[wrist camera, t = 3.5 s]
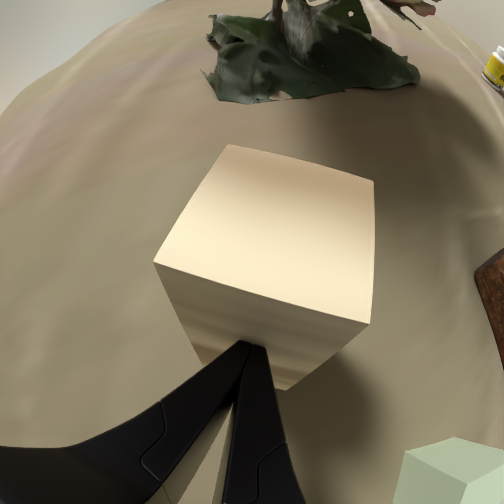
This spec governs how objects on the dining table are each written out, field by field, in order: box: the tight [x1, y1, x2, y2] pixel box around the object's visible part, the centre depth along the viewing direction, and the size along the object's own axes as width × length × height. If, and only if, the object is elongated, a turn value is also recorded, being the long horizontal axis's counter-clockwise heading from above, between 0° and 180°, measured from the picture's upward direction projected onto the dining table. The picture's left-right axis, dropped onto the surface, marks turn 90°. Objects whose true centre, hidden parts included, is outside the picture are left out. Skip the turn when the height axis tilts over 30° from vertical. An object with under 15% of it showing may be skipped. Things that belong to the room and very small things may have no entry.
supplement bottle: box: [482, 46, 504, 91], centre depth 23 cm, size 5×5×8 cm
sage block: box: [392, 437, 504, 504], centre depth 8 cm, size 4×4×7 cm
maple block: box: [153, 144, 375, 391], centre depth 11 cm, size 4×4×10 cm
